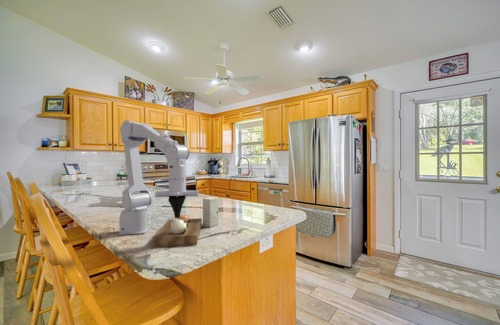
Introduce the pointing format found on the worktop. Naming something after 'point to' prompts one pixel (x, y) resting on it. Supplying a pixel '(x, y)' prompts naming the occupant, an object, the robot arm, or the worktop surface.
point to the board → (185, 238)
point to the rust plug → (184, 218)
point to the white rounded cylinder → (177, 226)
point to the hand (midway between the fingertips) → (177, 217)
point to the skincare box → (210, 211)
